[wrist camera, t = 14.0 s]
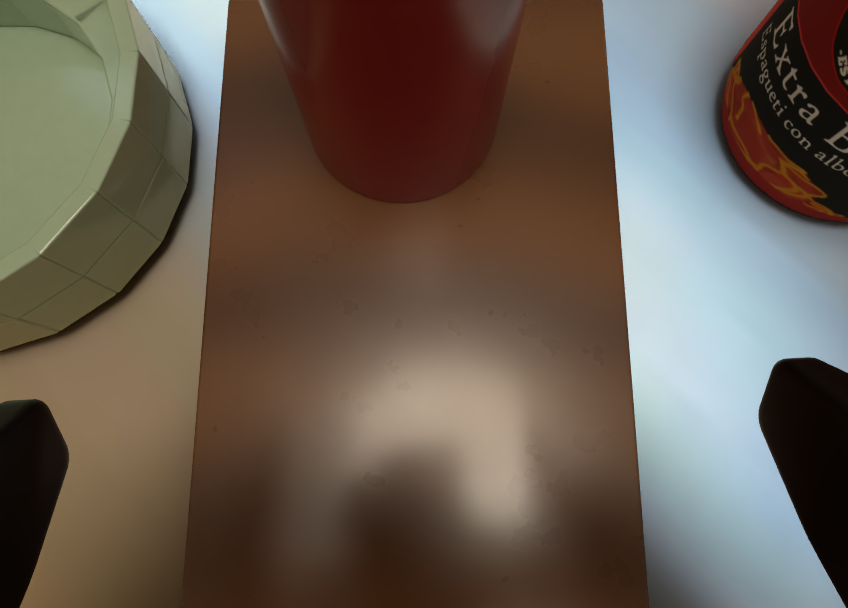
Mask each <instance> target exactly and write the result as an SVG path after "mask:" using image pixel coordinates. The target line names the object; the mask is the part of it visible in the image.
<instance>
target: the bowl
mask: <svg viewBox="0 0 848 608" xmlns="http://www.w3.org/2000/svg"><path fill="white" fill-rule="evenodd" d="M192 130H193V127H192V121H191V117H190V113H189V110H188V106H187V102H186V98H185V95H184V91H183V87H182V83H181V80H180V76H179V74H178V71H177V69H176V68H175V66H174V65H173V63H172V62H171V60H170V59H169V57H168V56H167V54H166V52H165V51H164V49H163V48H162V46H161V45H160V43H159V42H158V40H157V39H156V37H155V36H154V34H153V33H152V31H151V30H150V28H149V27H148V25H147V24H146V22H145V21H144V19H143V18H142V16H141V14H140V13H139V11H138V10H137V8H136V7H135V5H134V4H133V2H132V1H131V0H0V351H1V350H4V349H7V348H10V347H14V346H17V345H20V344H23V343H27V342H30V341H33V340H36V339H39V338H43V337H46V336H49V335H52V334H56V333H58V331H61V330H63V329H64V328H66V327H68V326H69V325H71V324H72V323H74V322H75V321H77V320H78V319H80V318H81V317H83V316H84V315H86V314H87V313H89V312H90V311H92V310H93V309H95V308H97V307H98V306H100V305H101V304H103V303H104V302H106V301H107V300H109V299H110V298H112V297H113V296H115V295H116V294H117V293H119V292H120V291H121V290H122V289H123V288H124V286H125V285H126V284H127V283H128V282H129V281H130V279H131V278H132V277H133V276H134V275H135V274H136V272H137V271H138V270H139V269H140V268H141V267H142V265H143V264H144V263H145V262H146V261H147V260H148V258H149V257H150V256H151V255H152V254H153V253H154V251H155V250H156V249H157V248H158V247H159V246H160V245H161V241H163V240H164V237H165V235H166V233H167V231H168V228H169V226H170V224H171V221H172V219H173V217H174V215H175V212H176V210H177V208H178V205H179V203H180V201H181V199H182V196H183V194H184V192H185V189H186V187H187V183H188V175H189V164H190V153H191V142H192ZM116 292H117V293H116Z"/></svg>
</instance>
